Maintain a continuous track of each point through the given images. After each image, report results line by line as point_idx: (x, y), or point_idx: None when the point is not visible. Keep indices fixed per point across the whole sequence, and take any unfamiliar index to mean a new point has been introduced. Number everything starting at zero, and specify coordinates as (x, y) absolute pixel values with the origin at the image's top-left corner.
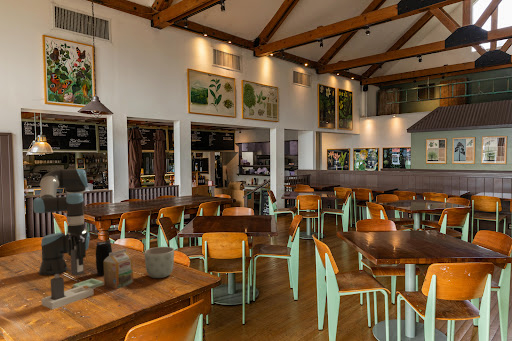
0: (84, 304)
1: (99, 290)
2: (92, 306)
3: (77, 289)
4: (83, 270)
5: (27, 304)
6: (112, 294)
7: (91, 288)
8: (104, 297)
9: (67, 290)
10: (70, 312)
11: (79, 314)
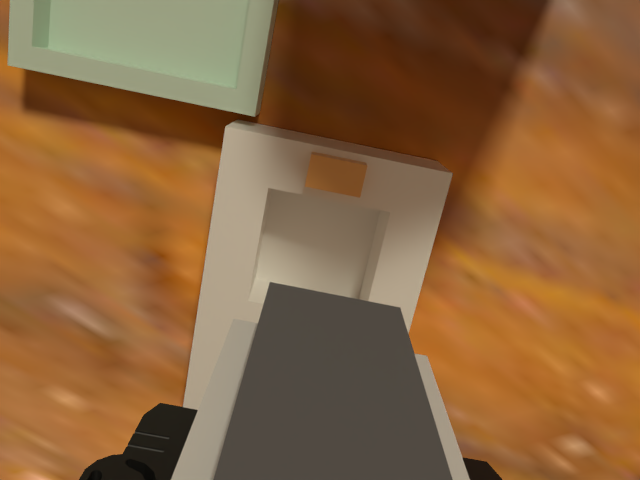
0: (507, 335)
1: (380, 16)
2: (609, 343)
3: (262, 219)
4: (404, 329)
5: (43, 470)
6: (611, 64)
7: (420, 170)
8: (579, 157)
9: (207, 297)
10: (514, 468)
11: (610, 471)
